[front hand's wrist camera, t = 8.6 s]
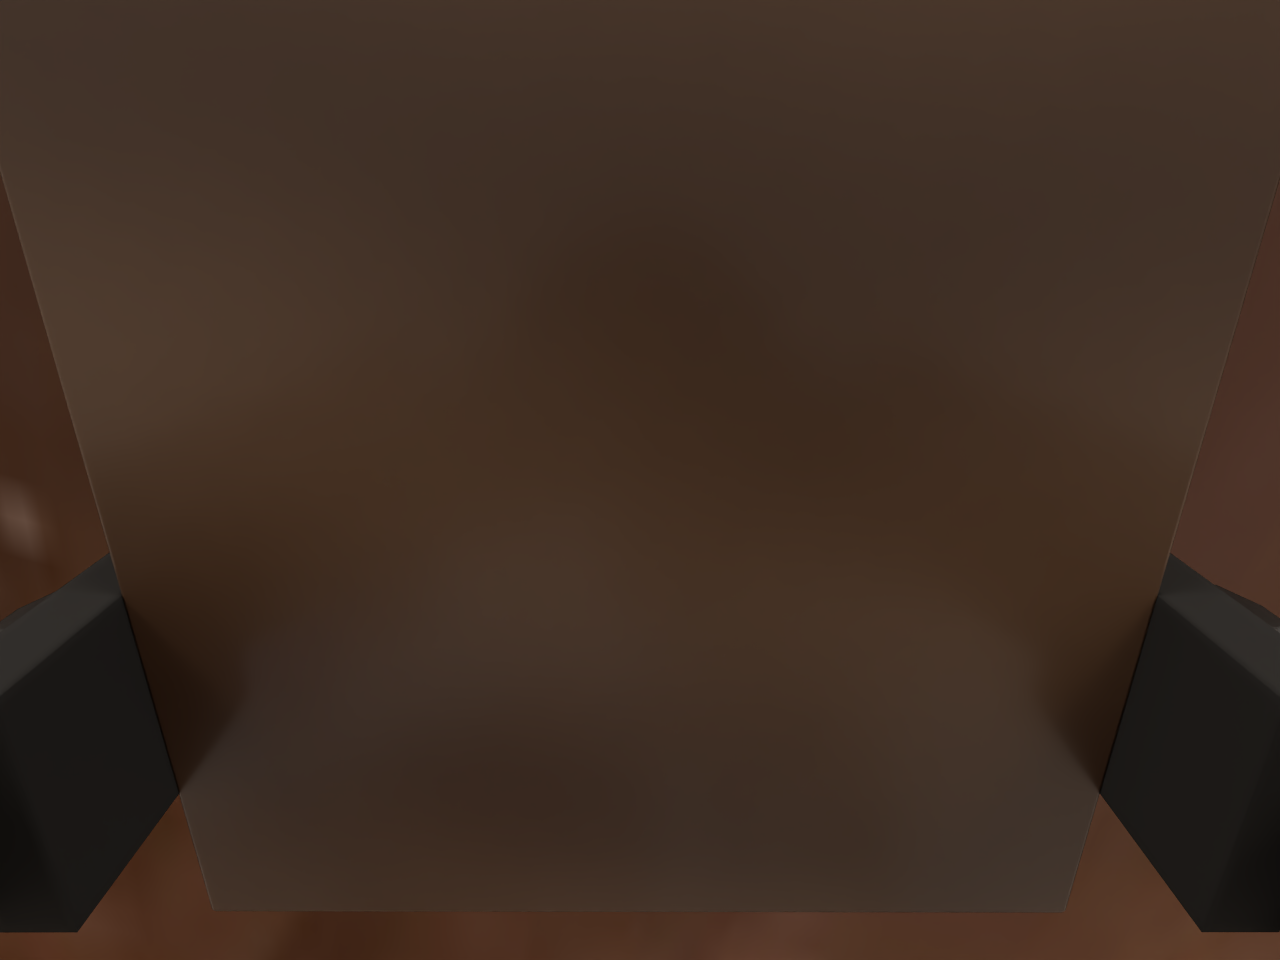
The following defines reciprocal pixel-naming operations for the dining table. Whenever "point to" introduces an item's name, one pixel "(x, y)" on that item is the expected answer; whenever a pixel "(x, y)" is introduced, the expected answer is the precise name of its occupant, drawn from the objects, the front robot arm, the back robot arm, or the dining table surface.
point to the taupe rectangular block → (640, 422)
